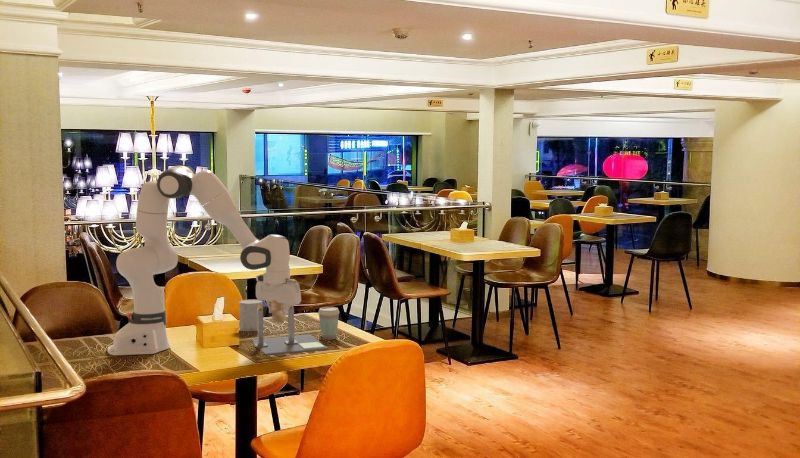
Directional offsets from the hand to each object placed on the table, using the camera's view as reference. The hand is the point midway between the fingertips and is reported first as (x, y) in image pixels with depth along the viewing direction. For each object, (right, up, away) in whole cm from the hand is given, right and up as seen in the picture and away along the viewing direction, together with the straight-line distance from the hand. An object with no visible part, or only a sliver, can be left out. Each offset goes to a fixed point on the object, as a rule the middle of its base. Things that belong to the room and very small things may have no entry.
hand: (278, 313), depth 313 cm
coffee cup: (+17, -12, +19) cm, 29 cm away
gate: (-2, -13, +5) cm, 14 cm away
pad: (+12, -13, +3) cm, 18 cm away
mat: (+3, -13, +7) cm, 15 cm away
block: (0, -3, 0) cm, 3 cm away
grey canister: (-16, -11, +33) cm, 38 cm away
